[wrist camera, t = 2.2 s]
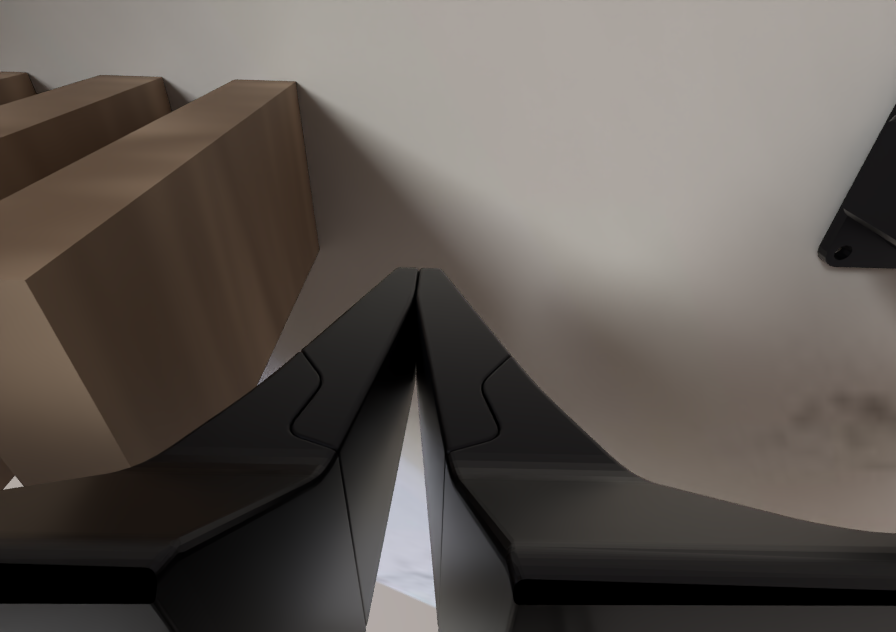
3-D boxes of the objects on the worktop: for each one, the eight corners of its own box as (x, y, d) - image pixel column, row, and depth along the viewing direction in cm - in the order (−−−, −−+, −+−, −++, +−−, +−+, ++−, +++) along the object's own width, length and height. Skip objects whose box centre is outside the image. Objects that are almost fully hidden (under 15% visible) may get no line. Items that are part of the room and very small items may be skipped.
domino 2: (162, 77, 13) (-353, 269, 5) (211, 247, 16) (-49, 549, 7) (100, 75, 13) (-527, 264, 5) (161, 245, 16) (-154, 547, 7)
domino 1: (295, 81, 13) (25, 279, 5) (319, 250, 16) (179, 553, 8) (234, 79, 13) (-145, 275, 5) (270, 248, 16) (76, 551, 8)
